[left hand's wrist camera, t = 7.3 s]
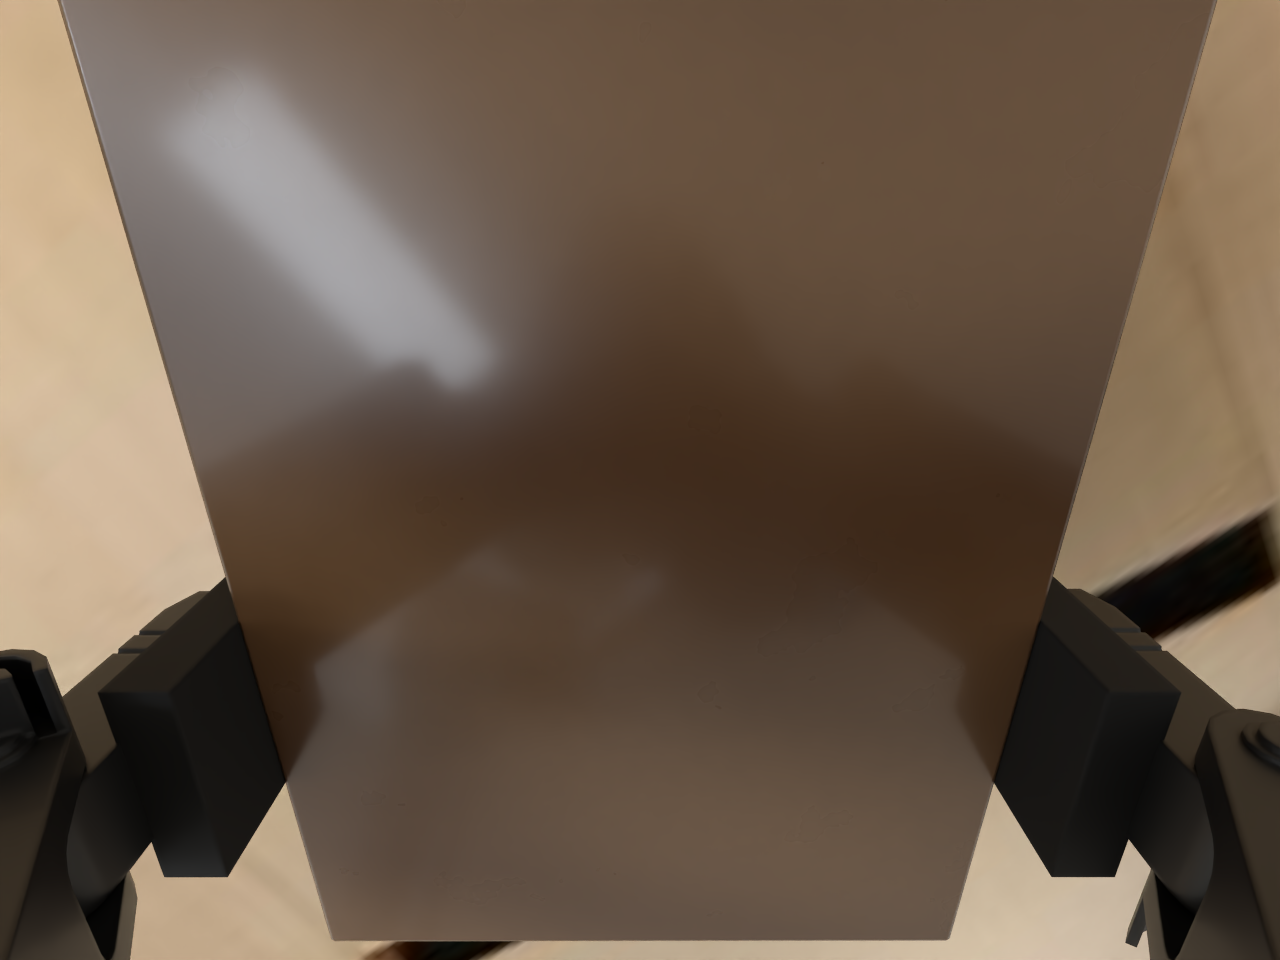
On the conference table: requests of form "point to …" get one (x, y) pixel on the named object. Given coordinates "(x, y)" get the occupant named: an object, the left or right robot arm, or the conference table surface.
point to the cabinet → (638, 422)
